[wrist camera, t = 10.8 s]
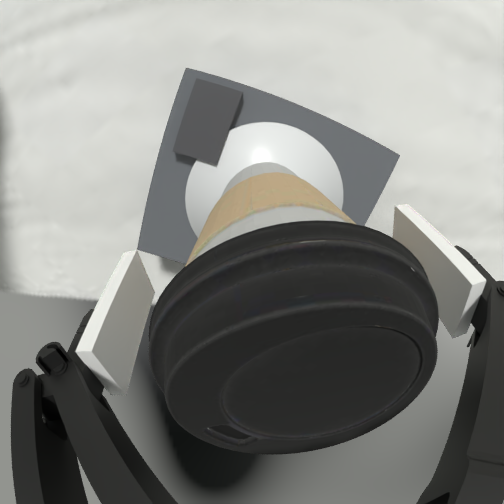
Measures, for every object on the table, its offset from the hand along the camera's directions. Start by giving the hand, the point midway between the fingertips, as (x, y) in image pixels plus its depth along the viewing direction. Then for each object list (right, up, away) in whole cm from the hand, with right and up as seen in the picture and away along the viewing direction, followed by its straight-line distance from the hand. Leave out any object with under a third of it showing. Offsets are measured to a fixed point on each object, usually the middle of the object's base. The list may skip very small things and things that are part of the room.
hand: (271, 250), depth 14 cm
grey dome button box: (0, +6, +11) cm, 12 cm away
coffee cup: (0, +3, +6) cm, 7 cm away
